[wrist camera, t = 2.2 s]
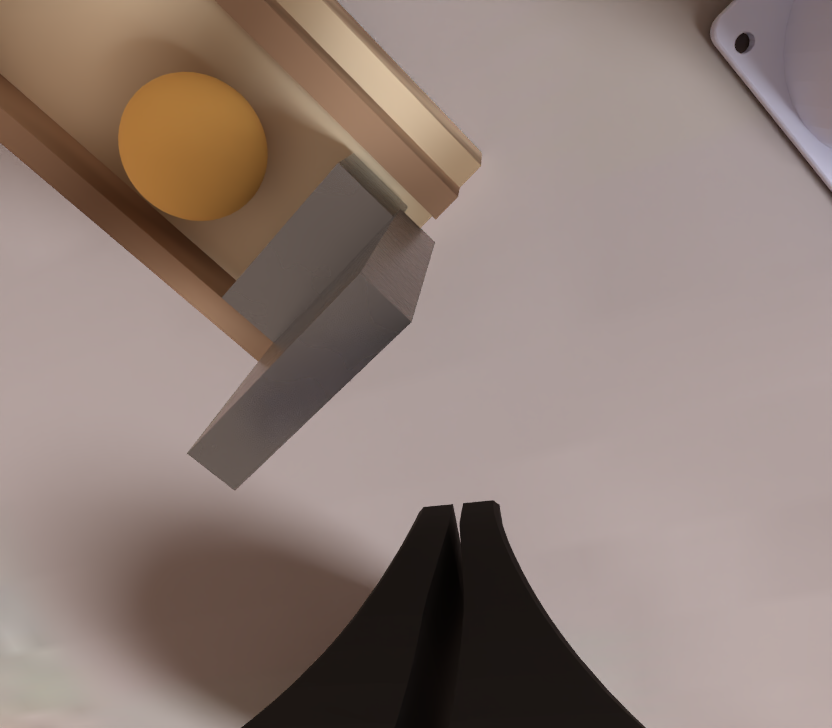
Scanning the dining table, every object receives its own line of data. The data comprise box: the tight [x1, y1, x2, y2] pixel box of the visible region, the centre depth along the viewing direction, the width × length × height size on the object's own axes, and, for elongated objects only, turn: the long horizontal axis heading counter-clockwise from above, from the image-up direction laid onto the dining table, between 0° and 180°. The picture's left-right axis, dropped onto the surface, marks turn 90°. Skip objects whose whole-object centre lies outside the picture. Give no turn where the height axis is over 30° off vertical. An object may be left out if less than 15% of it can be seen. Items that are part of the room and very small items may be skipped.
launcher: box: [0, 0, 482, 362], centre depth 18 cm, size 12×9×4 cm
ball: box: [118, 72, 268, 221], centre depth 16 cm, size 4×4×4 cm
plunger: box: [187, 153, 435, 490], centre depth 15 cm, size 3×5×7 cm, turn 136°
